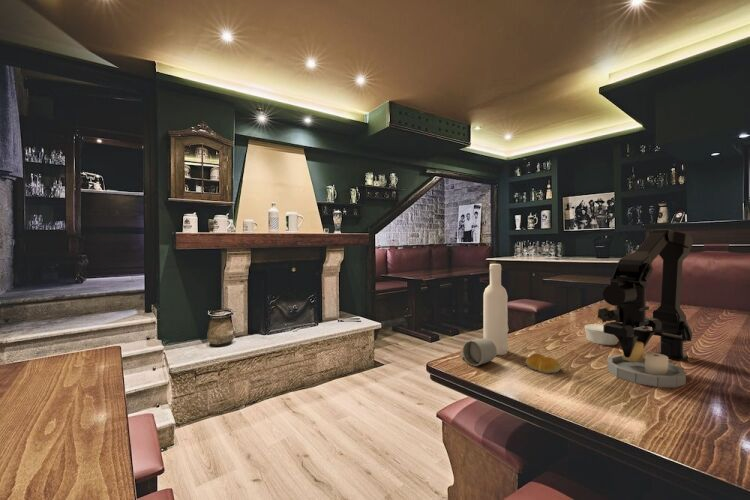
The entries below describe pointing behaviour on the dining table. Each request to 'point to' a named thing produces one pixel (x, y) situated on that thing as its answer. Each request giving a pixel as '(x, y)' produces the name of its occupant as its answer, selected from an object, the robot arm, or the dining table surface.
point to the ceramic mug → (479, 351)
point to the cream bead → (656, 364)
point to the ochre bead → (635, 353)
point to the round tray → (638, 375)
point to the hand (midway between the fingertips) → (632, 355)
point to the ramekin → (599, 335)
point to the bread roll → (543, 363)
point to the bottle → (496, 311)
